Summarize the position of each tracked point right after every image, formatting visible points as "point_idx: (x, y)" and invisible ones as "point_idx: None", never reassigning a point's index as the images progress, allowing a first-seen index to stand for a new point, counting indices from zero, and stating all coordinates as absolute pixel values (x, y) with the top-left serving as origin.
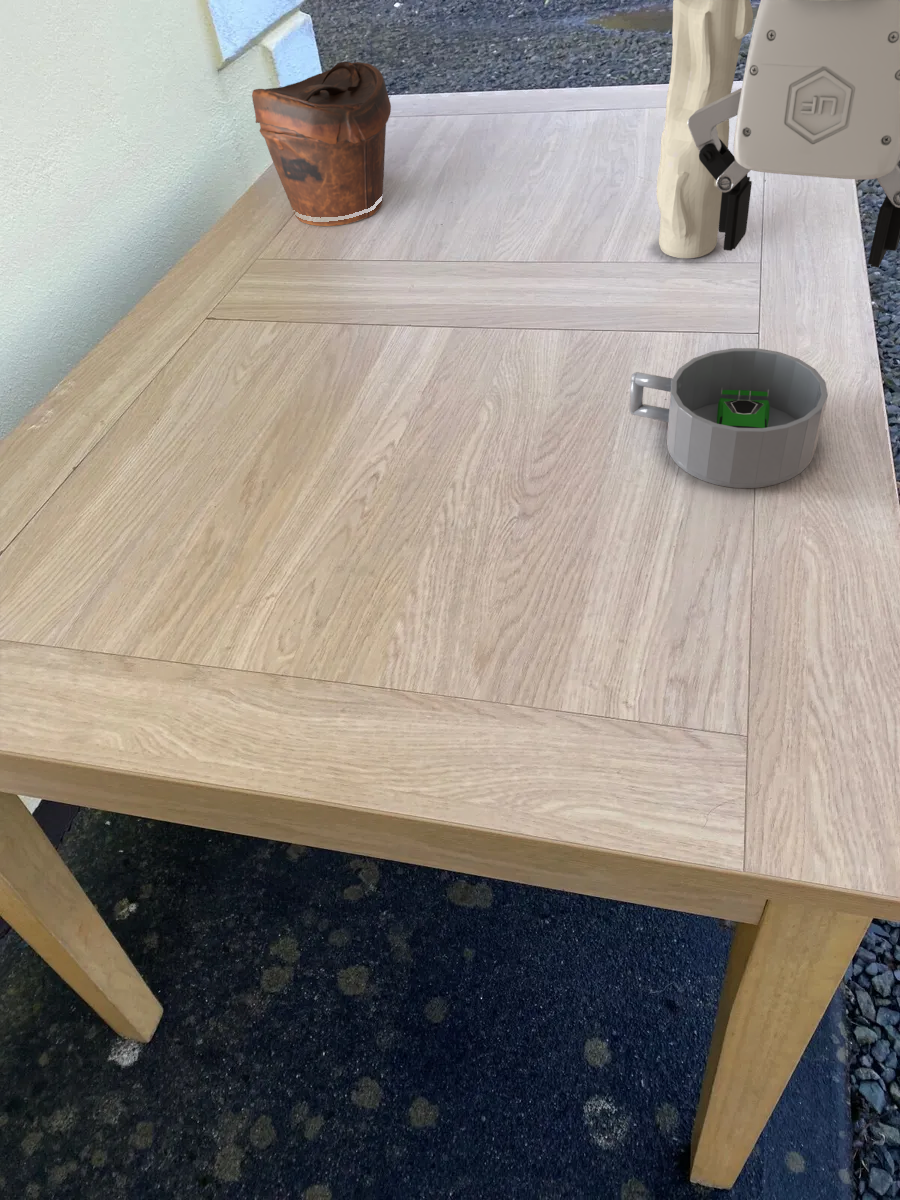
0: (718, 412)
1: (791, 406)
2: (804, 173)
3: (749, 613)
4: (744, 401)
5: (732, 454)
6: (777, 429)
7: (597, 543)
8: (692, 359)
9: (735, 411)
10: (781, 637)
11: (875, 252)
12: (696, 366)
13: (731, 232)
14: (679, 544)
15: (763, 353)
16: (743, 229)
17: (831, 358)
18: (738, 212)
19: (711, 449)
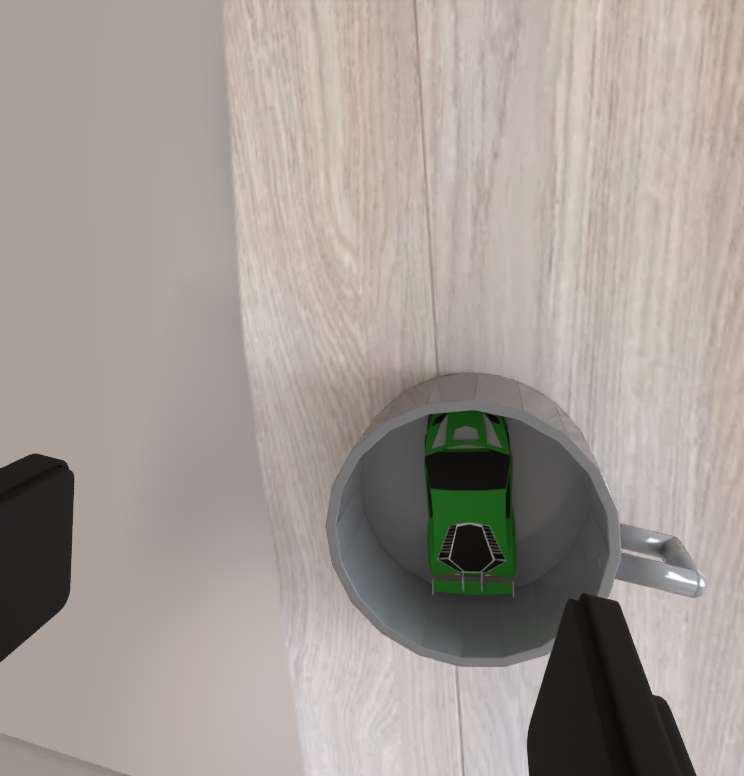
0: (513, 536)
1: (394, 570)
2: (109, 773)
3: (420, 66)
4: (471, 567)
5: (478, 387)
6: (402, 413)
7: (699, 177)
8: None
9: (484, 530)
10: (369, 25)
11: (17, 475)
12: None
13: (603, 641)
14: (548, 209)
15: (446, 652)
16: (540, 725)
17: (347, 715)
18: (594, 727)
19: (518, 395)
